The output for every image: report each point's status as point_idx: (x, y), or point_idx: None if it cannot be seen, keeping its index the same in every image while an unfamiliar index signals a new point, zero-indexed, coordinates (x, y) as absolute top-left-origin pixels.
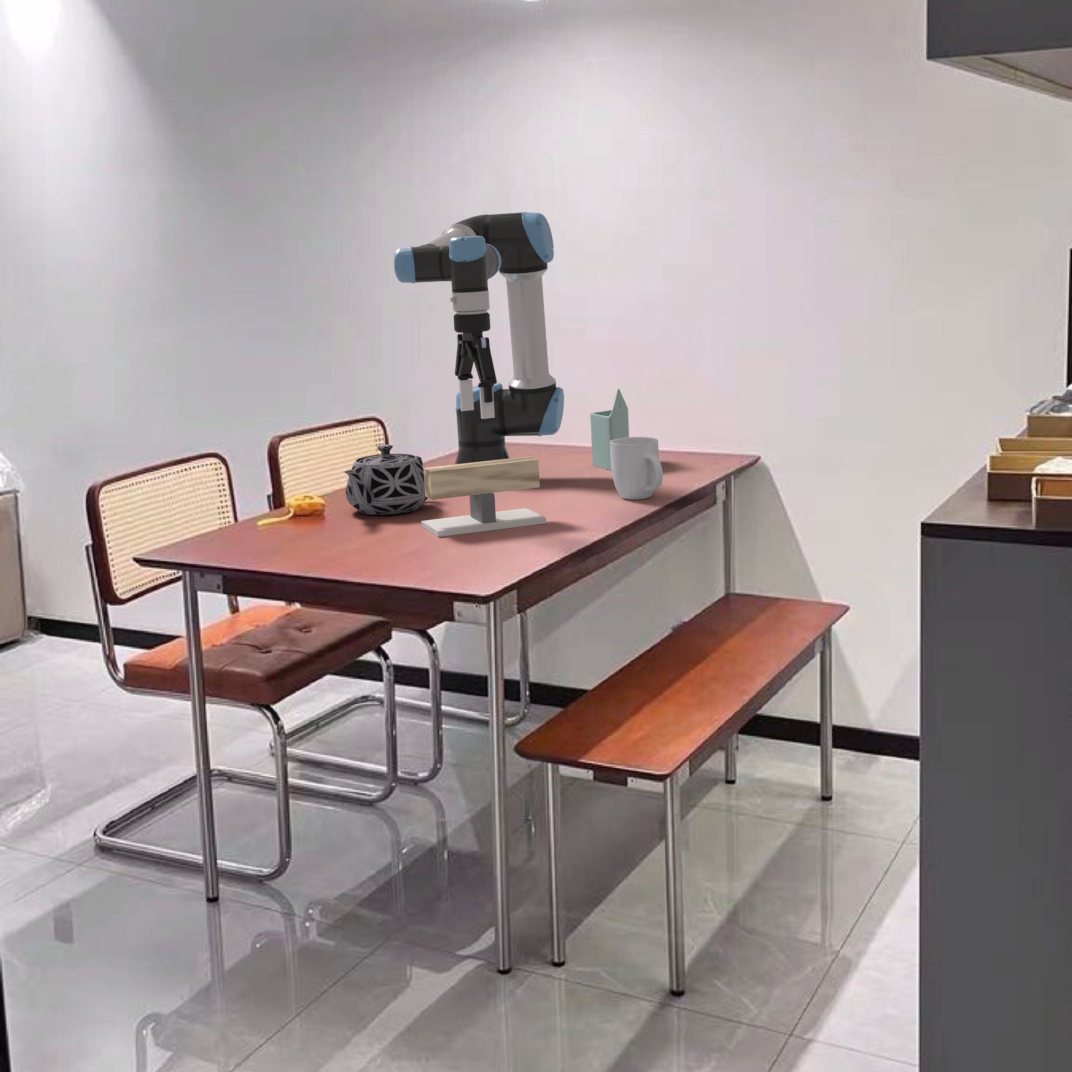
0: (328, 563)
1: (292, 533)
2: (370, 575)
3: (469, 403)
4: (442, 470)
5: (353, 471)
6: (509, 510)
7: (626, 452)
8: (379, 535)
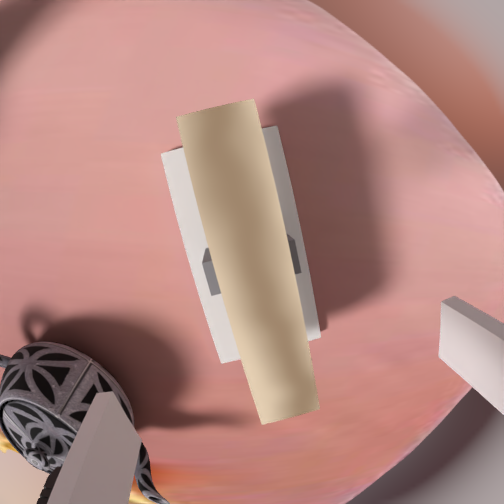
0: (393, 435)
1: (213, 486)
2: (460, 384)
3: (114, 434)
4: (315, 386)
5: (157, 495)
6: (172, 191)
7: None
8: None
